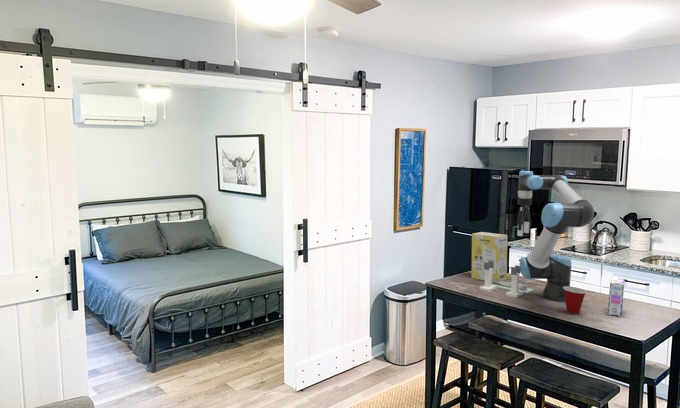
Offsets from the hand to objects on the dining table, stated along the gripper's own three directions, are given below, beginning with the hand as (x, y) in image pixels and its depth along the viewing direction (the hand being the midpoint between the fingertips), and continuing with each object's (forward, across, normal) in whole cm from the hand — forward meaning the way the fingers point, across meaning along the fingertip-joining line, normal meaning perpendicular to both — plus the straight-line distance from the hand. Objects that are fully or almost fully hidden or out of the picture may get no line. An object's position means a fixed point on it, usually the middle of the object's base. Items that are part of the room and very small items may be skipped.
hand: (523, 234), depth 290 cm
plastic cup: (+32, +30, +34) cm, 55 cm away
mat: (+32, +4, -4) cm, 32 cm away
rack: (+32, +16, -7) cm, 36 cm away
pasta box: (+31, -8, -21) cm, 39 cm away
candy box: (+32, +17, +51) cm, 63 cm away
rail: (+31, +4, -5) cm, 31 cm away
